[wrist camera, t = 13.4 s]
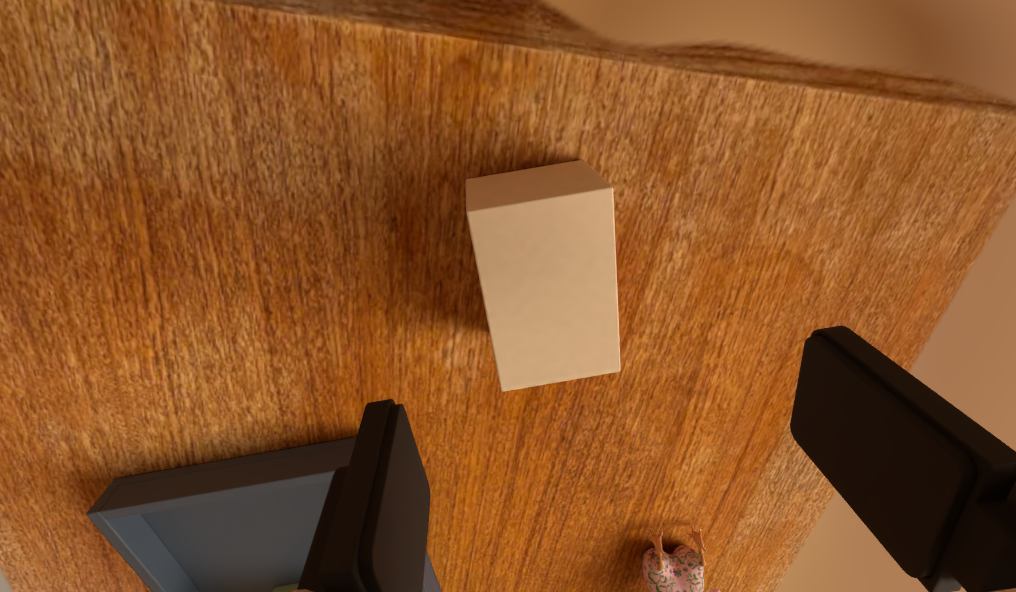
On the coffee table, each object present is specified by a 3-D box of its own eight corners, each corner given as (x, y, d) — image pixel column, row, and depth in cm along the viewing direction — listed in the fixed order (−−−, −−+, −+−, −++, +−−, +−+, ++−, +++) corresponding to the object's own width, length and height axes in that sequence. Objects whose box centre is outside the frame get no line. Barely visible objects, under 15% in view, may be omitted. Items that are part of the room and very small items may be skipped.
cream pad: (494, 334, 21) (501, 392, 18) (465, 178, 18) (466, 211, 14) (594, 317, 21) (621, 371, 18) (583, 159, 18) (613, 186, 14)
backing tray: (260, 668, 32) (248, 705, 30) (113, 478, 23) (84, 514, 21) (456, 633, 32) (456, 668, 30) (383, 431, 23) (377, 463, 21)
